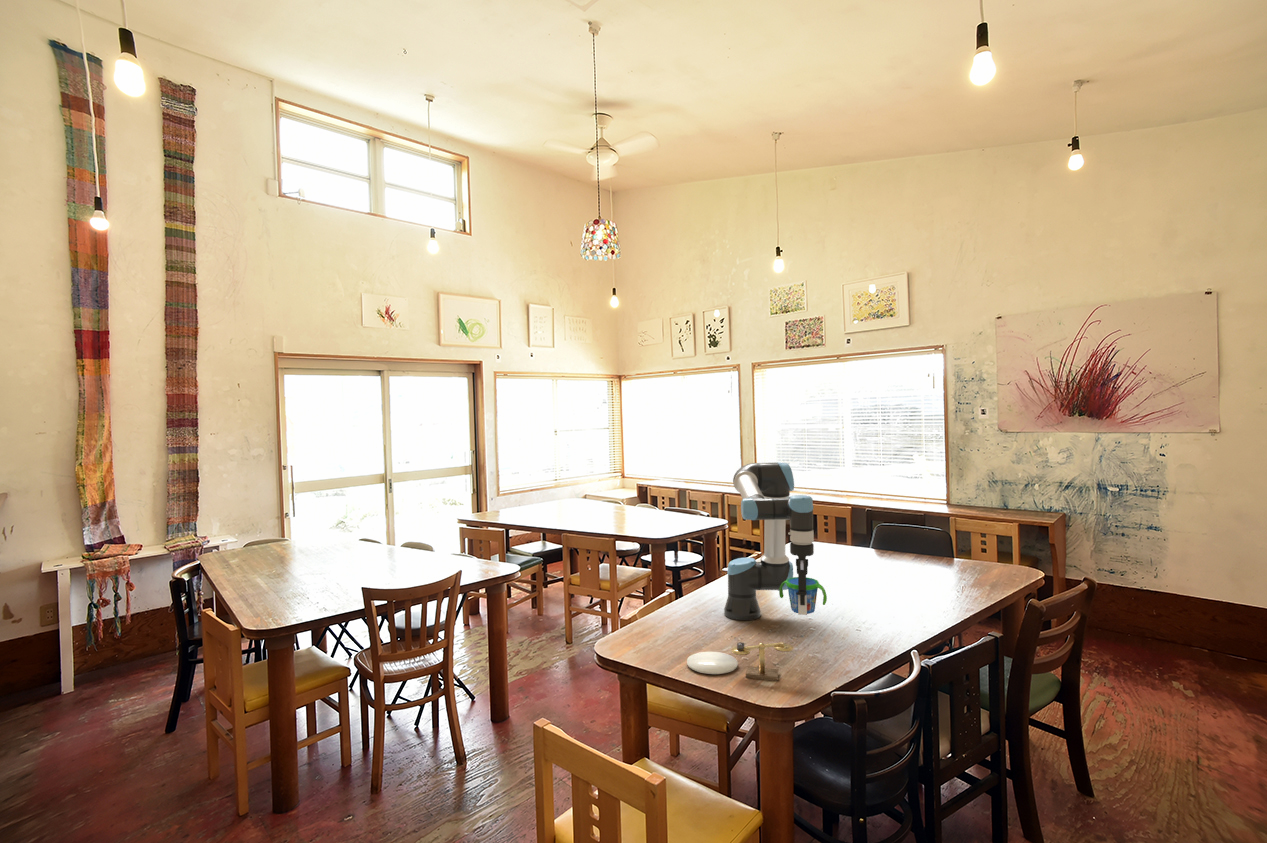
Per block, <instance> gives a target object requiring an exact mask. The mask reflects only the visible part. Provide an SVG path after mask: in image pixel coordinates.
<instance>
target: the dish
mask: <svg viewBox="0 0 1267 843" xmlns="http://www.w3.org/2000/svg"><path fill="white" fill-rule="evenodd" d="M738 663H739V662H738V660H737V659H736V657H734V656H733V655H730V654H728V653H724V652H721V651H720V652H719V651H700V652H695V653H694V654H691V655H690V656H688V657H687V660H686V664H687V666H688V668H689V669H691V670H692V671H695V672H698V673H701V674H707V675H721V674H727V673H731V672H733V671H735V670H736V669H737V668H738Z"/></svg>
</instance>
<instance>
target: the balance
mask: <svg viewBox="0 0 1267 843" xmlns="http://www.w3.org/2000/svg"><path fill="white" fill-rule="evenodd" d="M772 647H773V649H774V650H775V651H776V652H777V651H778V652H780V653H781V652H782V653H789V652H792V651H793V650H794V646H793V645H792V644H789V643H786V642H784V641H782V642H781V641H780V642H773V643H766V644H765V643H764V642H759V643H758V644H756V645H748V646H745V643H744V642H741V641H740V642H737V643H736V646H734V647H731V654H734V655H736V656H747V655H749V654H750V653H751V650H756V649H758V663H759V664H758V666H750V665H748V666H747V667H746V672H745V678H747V679H756V680H757V679H758V680H764V681H765V680H766V681H767V680H768V681H769V680H770V681H776V682H777V681H778V679H779V669H777V668H769V667H766V658H765V657H766V652H765V651H766V648H772Z"/></svg>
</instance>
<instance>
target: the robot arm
mask: <svg viewBox="0 0 1267 843" xmlns="http://www.w3.org/2000/svg"><path fill="white" fill-rule="evenodd" d="M732 482H733V487H734V489H735V490H736V492H738V493H739V494H740V496H741V502H740V513H741V517H742V519H743V520H745V521H746V520H747V521H749V520H750V521H764V530H763V531H764V534H763V536H764V540H763V541H764V542H763V543H764V548H763V549H764V550H763V551H764V552H763V554H762V555H761V556H760V561H757V560H756V559H755V558H754V557H738V558H735V559H733V560H731V561H729V563H728V564H727V571H726V572H727V573H726V574H727V598H726V601H725V605H724V609H723V610H724V611H723V612H724V613H723V614H724V616H726V618H727V619H728V618H729V619H731V620H737V621H753V620H756V619H759V618H760V617H761V615H762V614H761V607H760V604H759V602H758V598H757V591H778V592H779V590H780V586H781V584H782V583H783V582H784V581H786V580H787V579H789V578H793V577H794V565H793V562H791V561H790V558H789V557H788V556H787V555H786V521H788V520H789V532H788V533H787V534H788V535H790V536H789V540H790V543H789V550H790V551H789V552H790V554H791V555H793V556H795V557H796V556H797V558H795V566H796V574H797V577H798V593H797V592H796V595H798V613H797V614H798V615H802V616H808V614H807V592H806V577H807V575H808V567H809V559H808V558H807V557H810V556H811V557H812V556H813V555H814V552H815V549H814V548H815V547H814V543H813V542H815V539H814V538H815V536H814V535H815V534H814V508H815V507H814V503H813V502H814V501H813V497H812V496H810V495H803V494H802V495H801V494H798V495H797V494H796V495H795V494H794V495H792V496H791V494H790V493H791V492H793V491H794V489H795V480H794V473H793V471H792V467H791V466H790V464H789V463H786V462H777V461H776V462H751V463H747V464H745V465H743V466H741V467H739V468H738V470H736V472H735V473H734V475H733V478H732ZM782 590H783V591H788V588H787V585H786V583H785V584H784V585H783V587H782ZM800 590H803V591H800Z"/></svg>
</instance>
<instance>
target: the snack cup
mask: <svg viewBox="0 0 1267 843" xmlns="http://www.w3.org/2000/svg"><path fill="white" fill-rule="evenodd" d="M785 583H786V585H787V588H788V589H787V591H788V592H787V593H788V597H789V598H788V599H789V603H790V608H791V609H790V610H791V611H792V612H794V613H796V614H798V595H796V592H797V593H798V576H795V577H794V576H793V578H789V579H787V580H786V581H784V582H783V583H782V584H781V586H780V590H779V591H778V593H779V598H780V599H783V598H784V590H782V587H783V585H784V584H785ZM818 589H819V590H820V591H822V595H823V597H822V598H823V599H822V605H823V606H824V605H826V603H827V601H828V600H827V599H828V598H827V597H828V596H827V592H826V589H825V588H824V587H823V585H822V584H820V582H819V581H818V579H815V578H812V577H808V576H806V592H807V615H810V614H812V613H815V609H816V603H817V597H818V596H817V595H818ZM800 591H803V590H800Z"/></svg>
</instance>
